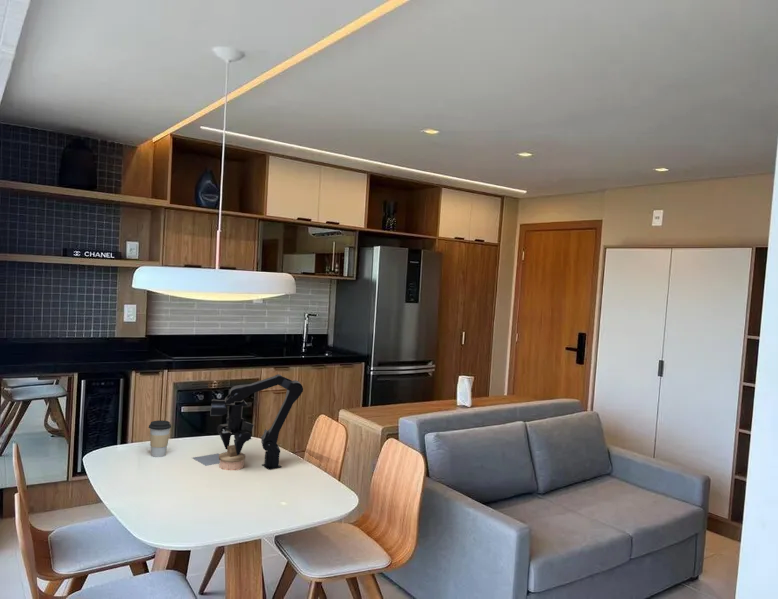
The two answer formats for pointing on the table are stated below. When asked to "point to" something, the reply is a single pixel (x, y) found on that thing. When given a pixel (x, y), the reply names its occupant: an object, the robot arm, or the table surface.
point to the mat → (208, 459)
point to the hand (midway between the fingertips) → (232, 451)
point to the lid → (231, 455)
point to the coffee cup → (159, 437)
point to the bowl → (231, 465)
